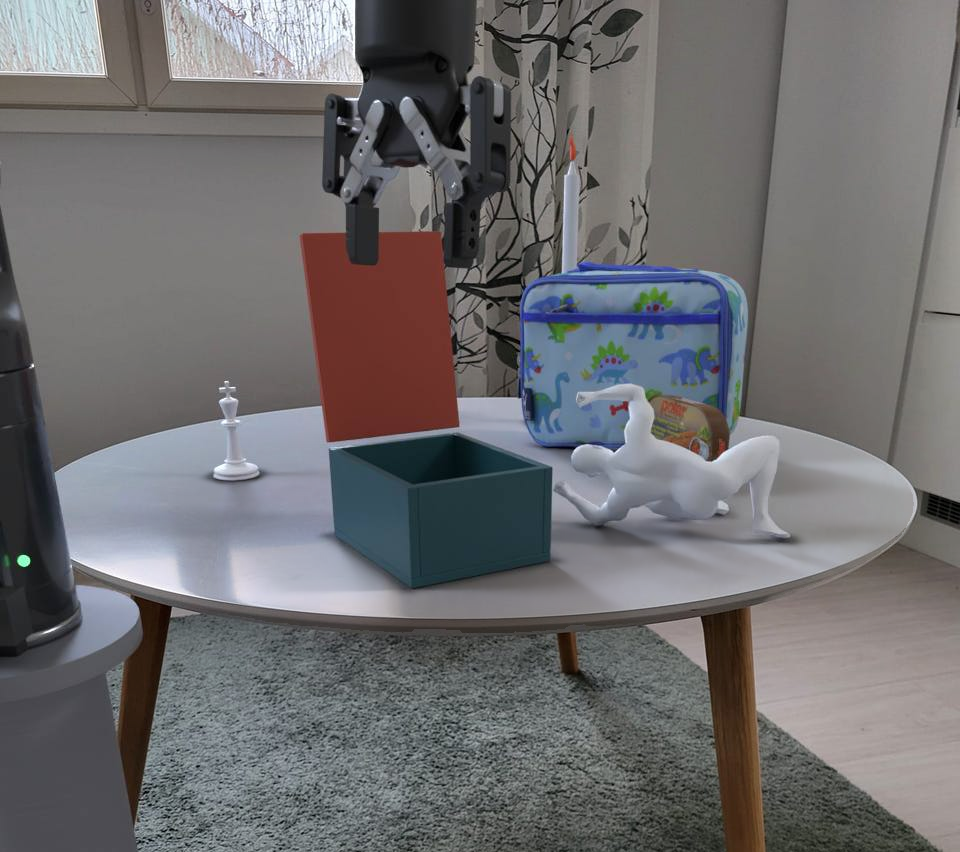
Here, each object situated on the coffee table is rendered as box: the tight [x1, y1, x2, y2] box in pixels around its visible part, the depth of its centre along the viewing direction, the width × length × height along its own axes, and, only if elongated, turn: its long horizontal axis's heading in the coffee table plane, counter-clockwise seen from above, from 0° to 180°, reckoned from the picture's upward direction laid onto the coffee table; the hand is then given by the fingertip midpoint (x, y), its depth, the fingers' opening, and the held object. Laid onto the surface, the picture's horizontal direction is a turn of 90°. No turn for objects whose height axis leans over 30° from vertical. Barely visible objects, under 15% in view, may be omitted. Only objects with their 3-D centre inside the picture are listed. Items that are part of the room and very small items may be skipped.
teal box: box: [328, 431, 554, 589], centre depth 80 cm, size 16×13×8 cm
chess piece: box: [213, 380, 261, 482], centre depth 104 cm, size 5×5×10 cm
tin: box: [647, 394, 731, 462], centre depth 101 cm, size 15×3×8 cm, turn 19°
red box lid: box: [299, 230, 460, 443], centre depth 83 cm, size 17×13×1 cm
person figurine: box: [552, 384, 791, 540], centre depth 84 cm, size 13×13×18 cm
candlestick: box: [561, 133, 581, 273], centre depth 124 cm, size 11×11×35 cm
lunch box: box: [516, 260, 749, 452], centre depth 113 cm, size 26×11×21 cm, turn 62°
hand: (409, 266), depth 64 cm, fingers open, 8 cm apart
